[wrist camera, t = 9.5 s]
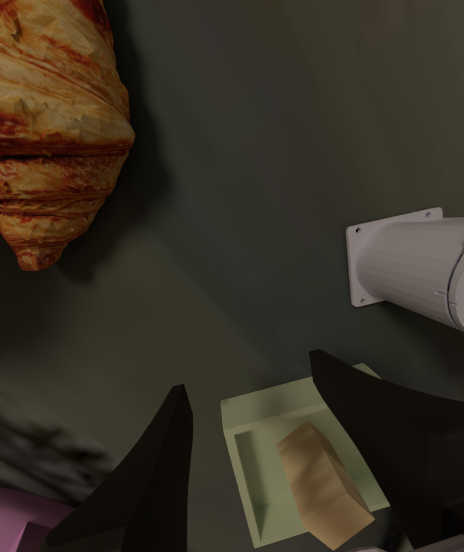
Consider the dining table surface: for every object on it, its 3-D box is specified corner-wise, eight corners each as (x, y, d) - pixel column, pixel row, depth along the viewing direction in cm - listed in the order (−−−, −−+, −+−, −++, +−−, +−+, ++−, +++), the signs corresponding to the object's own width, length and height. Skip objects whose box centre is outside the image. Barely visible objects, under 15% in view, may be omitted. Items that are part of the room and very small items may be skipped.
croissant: (72, -6, 18) (-104, -196, 10) (178, -24, 15) (37, -316, 7) (47, 255, 21) (-98, 254, 14) (128, 285, 18) (-2, 304, 11)
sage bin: (363, 362, 25) (388, 384, 21) (370, 471, 28) (393, 504, 25) (220, 400, 23) (223, 430, 20) (248, 508, 27) (254, 548, 24)
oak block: (307, 419, 25) (347, 493, 18) (330, 441, 26) (374, 519, 19) (276, 444, 25) (303, 526, 18) (299, 465, 26) (333, 550, 19)
